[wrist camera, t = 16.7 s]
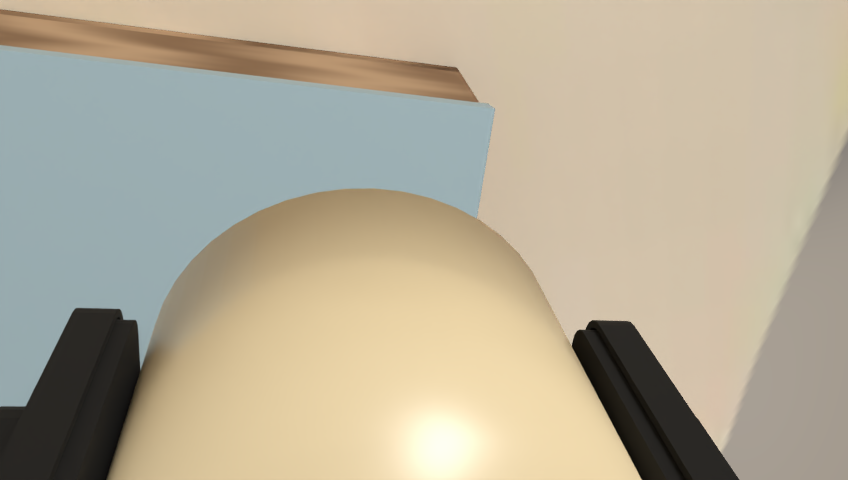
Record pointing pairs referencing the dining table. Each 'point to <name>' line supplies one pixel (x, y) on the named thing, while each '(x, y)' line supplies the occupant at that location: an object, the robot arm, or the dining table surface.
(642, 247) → the dining table surface
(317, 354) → the cream bottle with knob
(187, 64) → the crate
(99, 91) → the lid
